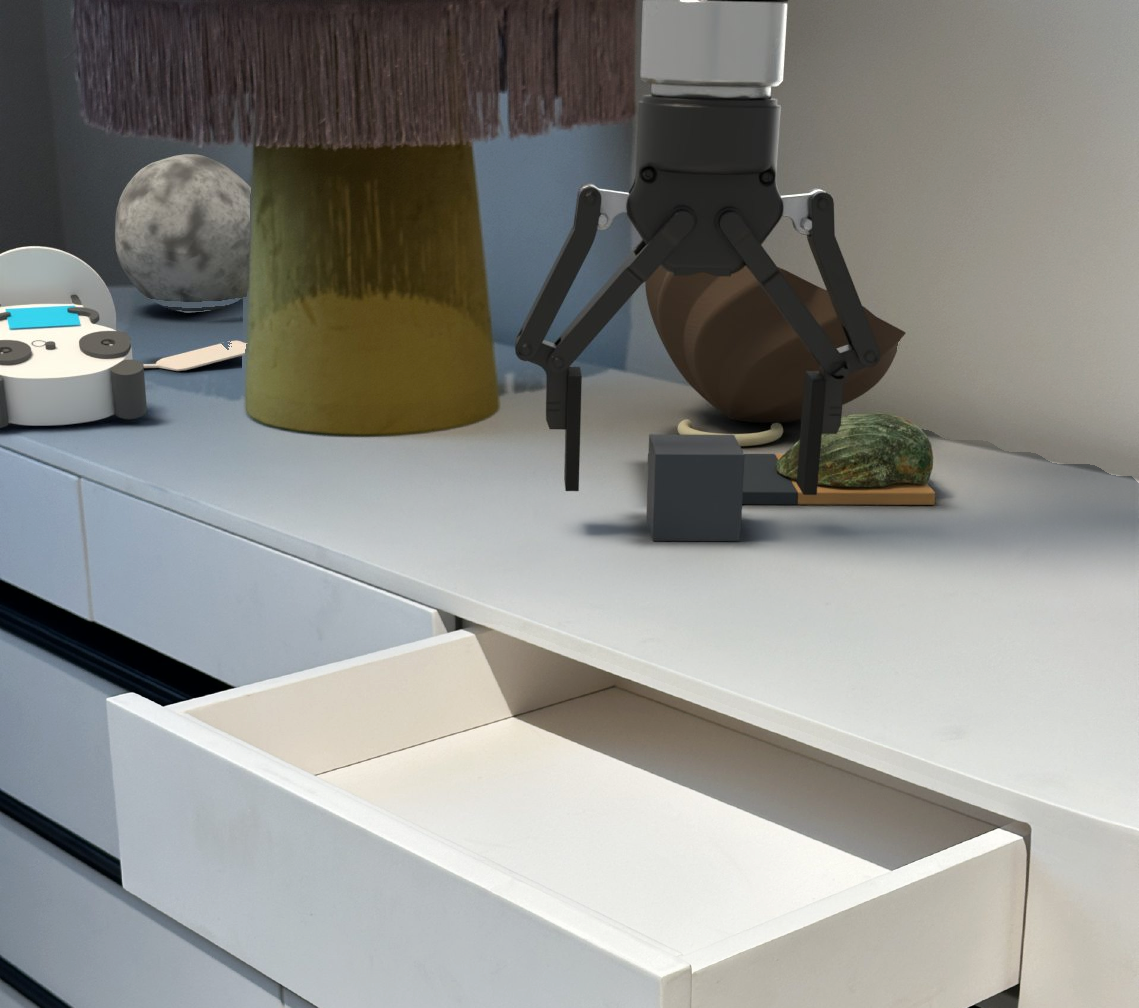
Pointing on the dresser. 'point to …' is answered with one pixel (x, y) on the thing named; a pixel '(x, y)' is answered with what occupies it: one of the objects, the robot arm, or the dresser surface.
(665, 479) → the slate block
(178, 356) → the spatula
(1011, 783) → the dresser surface
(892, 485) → the sorting mat
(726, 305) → the brown fluted bowl
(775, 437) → the handle
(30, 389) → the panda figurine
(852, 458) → the seashell
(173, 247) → the moon lamp
